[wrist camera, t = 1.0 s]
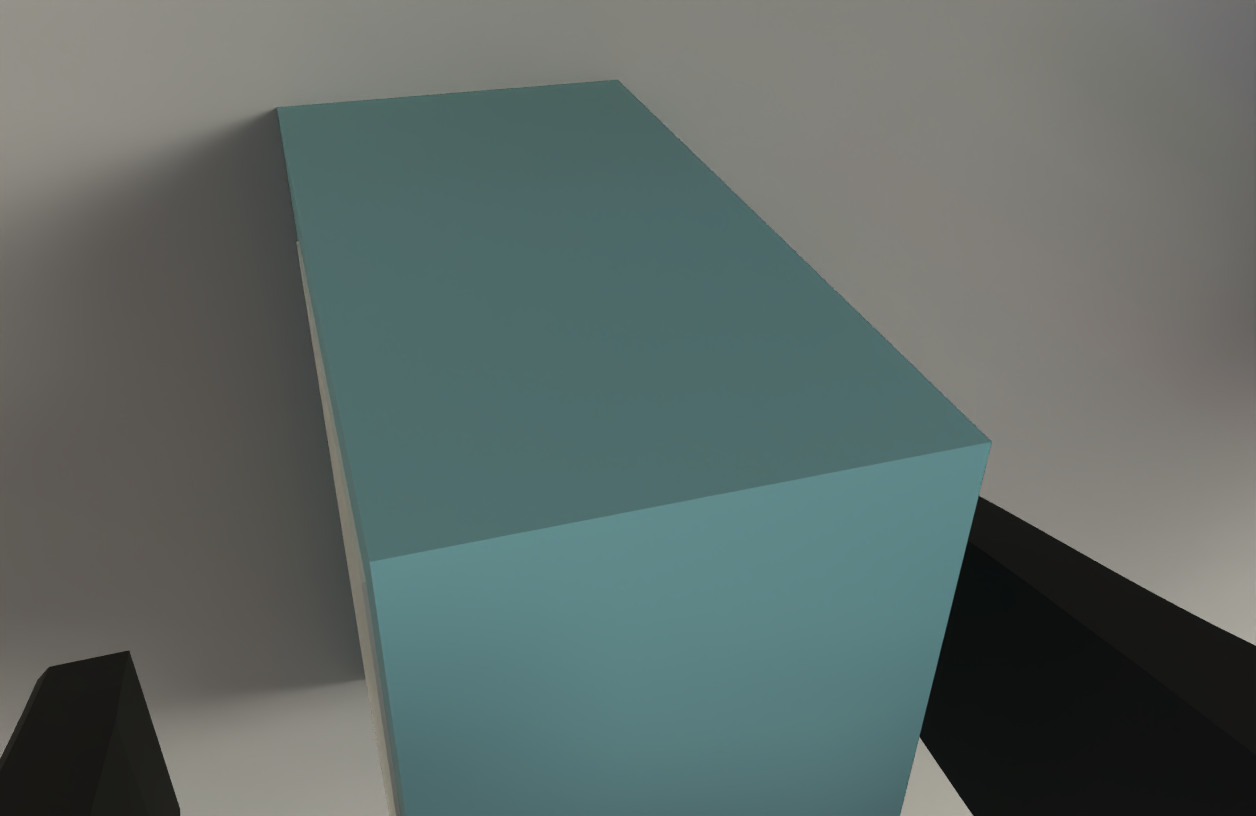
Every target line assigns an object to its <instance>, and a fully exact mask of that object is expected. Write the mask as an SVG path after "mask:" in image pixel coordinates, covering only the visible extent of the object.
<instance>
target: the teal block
mask: <svg viewBox="0 0 1256 816" xmlns="http://www.w3.org/2000/svg"><path fill="white" fill-rule="evenodd" d="M277 112H278V118H279V124H280V131H281V137H282V143H283V150H284V156H285V163H286V169H287V175H288V182H289V188H290V194H291V201H292V207H293V213H294V220H295V226H296V232H297V239H298V242H296V244H297V250H298V256H299V263H300V269H301V275H302V282H303V288H304V294H305V300H306V307H307V313H308V319H309V326H310V332H311V338H312V345H313V351H314V357H315V363H316V370H317V376H318V382H319V389H320V395H321V401H322V408H323V414H324V420H325V426H326V433H327V439H328V445H329V452H330V458H331V464H332V471H333V477H334V483H335V489H336V496H337V502H338V508H339V515H340V521H341V527H342V534H343V540H344V546H345V552H346V559H347V565H348V571H349V578H350V584H351V590H352V597H353V603H354V609H355V615H356V622H357V628H358V634H359V641H360V647H361V653H362V660H363V666H364V672H365V678H366V684H367V690H368V695H369V701H370V707H371V712H372V718H373V724H374V729H375V735H376V741H377V746H378V752H379V758H380V763H381V769H382V775H383V780H384V786H385V792H386V797H387V803H388V809H389V814H390V816H900V813H901V809H902V805H903V801H904V797H905V793H906V789H907V784H908V780H909V776H910V772H911V768H912V764H913V760H914V756H915V752H916V748H917V744H918V740H919V736H920V732H921V728H922V724H923V719H924V715H925V711H926V707H927V703H928V699H929V695H930V691H931V687H932V683H933V679H934V675H935V671H936V667H937V663H938V659H939V654H940V650H941V646H942V642H943V638H944V634H945V630H946V626H947V622H948V618H949V614H950V610H951V606H952V602H953V598H954V594H955V590H956V585H957V581H958V577H959V573H960V569H961V565H962V561H963V557H964V553H965V549H966V545H967V541H968V537H969V533H970V529H971V525H972V520H973V516H974V512H975V508H976V504H977V500H978V496H979V492H980V488H981V484H982V480H983V476H984V472H985V468H986V464H987V460H988V455H989V451H990V447H991V443H992V441H991V440H990V439H988V438H987V437H986V436H985V435H984V434H983V433H982V432H981V431H980V430H979V429H978V428H977V427H976V426H975V425H974V424H973V423H972V422H971V421H970V420H969V419H968V418H967V417H966V416H965V415H964V414H963V413H962V412H961V411H960V410H958V409H957V408H956V407H955V406H954V405H953V404H952V403H951V402H950V401H949V400H948V399H947V398H946V397H945V396H944V395H943V394H942V393H941V392H940V391H939V390H938V389H937V388H936V387H935V386H934V385H933V384H932V383H931V382H930V381H928V380H927V379H926V378H925V377H924V376H923V375H922V374H921V373H920V372H919V371H918V370H917V369H916V368H915V367H914V366H913V365H912V364H911V363H910V362H909V361H908V360H907V359H906V358H905V357H904V356H903V355H902V354H901V353H900V352H899V351H897V350H896V349H895V348H894V347H893V346H892V345H891V344H890V343H889V342H888V341H887V340H886V339H885V338H884V337H883V336H882V335H881V334H880V333H879V332H878V331H877V330H876V329H875V328H874V327H873V326H872V325H871V324H870V323H869V322H867V321H866V320H865V319H864V318H863V317H862V316H861V315H860V314H859V313H858V312H857V311H856V310H855V309H854V308H853V307H852V306H851V305H850V304H849V303H848V302H847V301H846V300H845V299H844V298H843V297H842V296H841V295H840V294H839V293H838V292H836V291H835V290H834V289H833V288H832V287H831V286H830V285H829V284H828V283H827V282H826V281H825V280H824V279H823V278H822V277H821V276H820V275H819V274H818V273H817V272H816V271H815V270H814V269H813V268H812V267H811V266H810V265H809V264H808V263H806V262H805V261H804V260H803V259H802V258H801V257H800V256H799V255H798V254H797V253H796V252H795V251H794V250H793V249H792V248H791V247H790V246H789V245H788V244H787V243H786V242H785V241H784V240H783V239H782V238H781V237H780V236H779V235H778V234H776V233H775V232H774V231H773V230H772V229H771V228H770V227H769V226H768V225H767V224H766V223H765V222H764V221H763V220H762V219H761V218H760V217H759V216H758V215H757V214H756V213H755V212H754V211H753V210H752V209H751V208H750V207H749V206H748V205H747V204H745V203H744V202H743V201H742V200H741V199H740V198H739V197H738V196H737V195H736V194H735V193H734V192H733V191H732V190H731V189H730V188H729V187H728V186H727V185H726V184H725V183H724V182H723V181H722V180H721V179H720V178H719V177H718V176H717V175H715V174H714V173H713V172H712V171H711V170H710V169H709V168H708V167H707V166H706V165H705V164H704V163H703V162H702V161H701V160H700V159H699V158H698V157H697V156H696V155H695V154H694V153H693V152H692V151H691V150H690V149H689V148H688V147H687V146H686V145H684V144H683V143H682V142H681V141H680V140H679V139H678V138H677V137H676V136H675V135H674V134H673V133H672V132H671V131H670V130H669V129H668V128H667V127H666V126H665V125H664V124H663V123H662V122H661V121H660V120H659V119H658V118H657V117H656V116H654V115H653V114H652V113H651V112H650V111H649V110H648V109H647V108H646V107H645V106H644V105H643V104H642V103H641V102H640V101H639V100H638V99H637V98H636V97H635V96H634V95H633V94H632V93H631V92H630V91H629V90H628V89H627V88H626V87H625V86H623V85H622V84H621V83H620V82H619V81H618V80H610V81H598V82H585V83H573V84H561V85H548V86H536V87H523V88H511V89H499V90H486V91H474V92H462V93H449V94H437V95H425V96H412V97H400V98H387V99H375V100H363V101H350V102H338V103H326V104H313V105H301V106H289V107H277Z"/></svg>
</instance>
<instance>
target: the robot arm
mask: <svg viewBox="0 0 1256 816" xmlns="http://www.w3.org/2000/svg"><path fill="white" fill-rule="evenodd" d="M919 737H920V738H921V740H922V741H923V743H924V744H925V746H926V747H927V749H928V750H929V752H930V753H931V755H932V756H933V757H934V759H935V760H936V762H937V763H938V765H939V766H940V768H941V769H942V771H943V772H944V774H945V775H946V777H947V778H948V780H949V781H950V782H951V784H952V785H953V787H954V788H955V790H956V791H957V793H958V794H959V796H960V797H961V799H962V800H963V801H964V803H965V804H966V806H967V807H968V809H969V810H970V812H971V813H972V814H973V816H1256V646H1255V645H1253V644H1251V643H1249V642H1247V641H1245V640H1243V639H1241V638H1239V637H1237V636H1235V635H1233V634H1231V633H1229V632H1227V631H1225V630H1223V629H1221V628H1219V627H1217V626H1214V625H1213V624H1211V623H1209V622H1207V621H1205V620H1203V619H1201V618H1199V617H1197V616H1195V615H1193V614H1191V613H1190V612H1188V611H1186V610H1184V609H1182V608H1180V607H1178V606H1176V605H1174V604H1172V603H1171V602H1169V601H1167V600H1165V599H1163V598H1161V597H1159V596H1158V595H1156V594H1154V593H1152V592H1150V591H1148V590H1146V589H1145V588H1143V587H1141V586H1139V585H1137V584H1136V583H1134V582H1132V581H1130V580H1128V579H1127V578H1125V577H1123V576H1121V575H1119V574H1117V573H1116V572H1114V571H1112V570H1110V569H1108V568H1107V567H1105V566H1103V565H1101V564H1100V563H1098V562H1096V561H1094V560H1092V559H1091V558H1089V557H1087V556H1085V555H1084V554H1082V553H1080V552H1078V551H1076V550H1075V549H1073V548H1071V547H1069V546H1068V545H1066V544H1064V543H1062V542H1061V541H1059V540H1057V539H1055V538H1053V537H1052V536H1050V535H1048V534H1046V533H1045V532H1043V531H1041V530H1039V529H1038V528H1036V527H1034V526H1032V525H1031V524H1029V523H1027V522H1025V521H1023V520H1022V519H1020V518H1018V517H1016V516H1014V515H1013V514H1011V513H1009V512H1007V511H1005V510H1004V509H1002V508H1000V507H998V506H996V505H995V504H993V503H991V502H989V501H987V500H985V499H983V498H982V497H980V496H978V500H977V504H976V508H975V512H974V516H973V520H972V525H971V529H970V533H969V537H968V541H967V545H966V549H965V553H964V557H963V561H962V565H961V569H960V573H959V577H958V581H957V585H956V590H955V594H954V598H953V602H952V606H951V610H950V614H949V618H948V622H947V626H946V630H945V634H944V638H943V642H942V646H941V650H940V654H939V659H938V663H937V667H936V671H935V675H934V679H933V683H932V687H931V691H930V695H929V699H928V703H927V707H926V711H925V715H924V719H923V724H922V728H921V732H920V736H919ZM0 816H180V808H179V804H178V801H177V798H176V795H175V792H174V789H173V786H172V783H171V780H170V776H169V773H168V770H167V767H166V764H165V761H164V758H163V755H162V751H161V748H160V745H159V742H158V739H157V736H156V733H155V730H154V726H153V723H152V720H151V717H150V714H149V711H148V708H147V705H146V701H145V698H144V695H143V692H142V689H141V686H140V683H139V680H138V676H137V673H136V670H135V667H134V664H133V661H132V658H131V655H130V651H124V652H119V653H114V654H110V655H105V656H100V657H95V658H90V659H85V660H80V661H76V662H71V663H66V664H61V665H56V666H51V667H49V668H48V669H47V670H46V671H45V672H44V673H43V675H42V676H41V677H40V678H39V679H38V680H37V683H36V685H35V687H34V689H33V691H32V694H31V696H30V698H29V700H28V702H27V704H26V707H25V709H24V711H23V713H22V715H21V717H20V719H19V721H18V723H17V726H16V728H15V730H14V732H13V734H12V736H11V738H10V740H9V742H8V744H7V746H6V748H5V750H4V752H3V754H2V756H1V758H0Z"/></svg>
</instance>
